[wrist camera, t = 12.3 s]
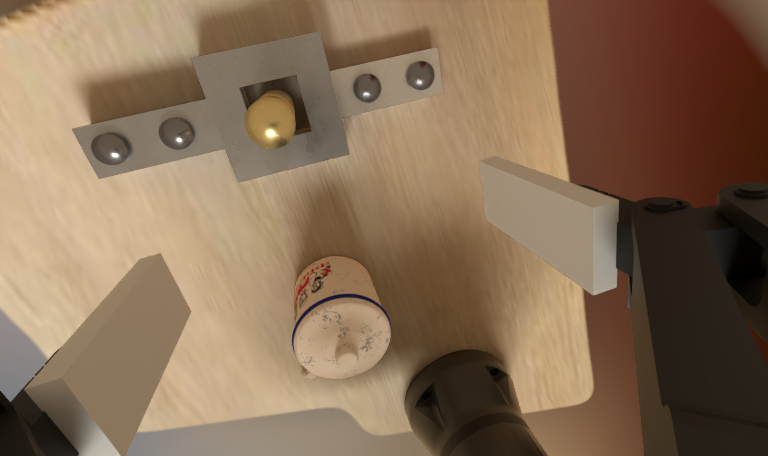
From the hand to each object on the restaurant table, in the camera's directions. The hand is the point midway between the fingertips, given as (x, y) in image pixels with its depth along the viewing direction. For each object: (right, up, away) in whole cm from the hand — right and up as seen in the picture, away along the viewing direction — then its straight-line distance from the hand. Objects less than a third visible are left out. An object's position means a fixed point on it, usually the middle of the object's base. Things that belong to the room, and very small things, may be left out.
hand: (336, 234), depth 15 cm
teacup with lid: (-4, -8, +27) cm, 29 cm away
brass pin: (-8, +11, +18) cm, 23 cm away
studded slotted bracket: (-8, +11, +18) cm, 23 cm away
